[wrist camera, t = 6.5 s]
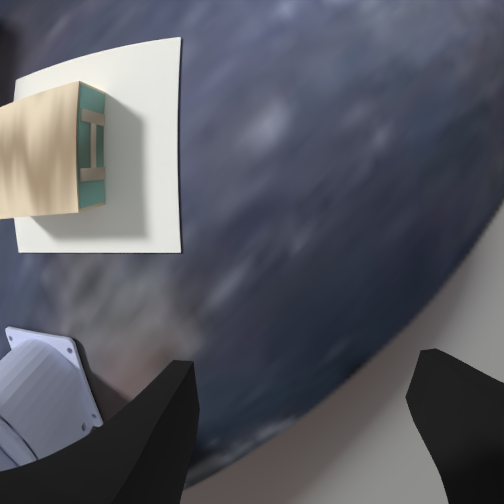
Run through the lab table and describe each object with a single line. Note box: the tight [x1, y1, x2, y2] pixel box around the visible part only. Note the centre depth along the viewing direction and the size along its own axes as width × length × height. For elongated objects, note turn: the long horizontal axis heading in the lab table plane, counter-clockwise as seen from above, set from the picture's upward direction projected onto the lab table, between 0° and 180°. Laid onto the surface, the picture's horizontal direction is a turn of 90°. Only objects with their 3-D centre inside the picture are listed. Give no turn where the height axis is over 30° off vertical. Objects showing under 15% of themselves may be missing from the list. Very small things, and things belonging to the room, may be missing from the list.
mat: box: [14, 37, 181, 253], centre depth 16 cm, size 13×13×1 cm
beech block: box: [0, 81, 105, 219], centre depth 14 cm, size 7×3×7 cm
